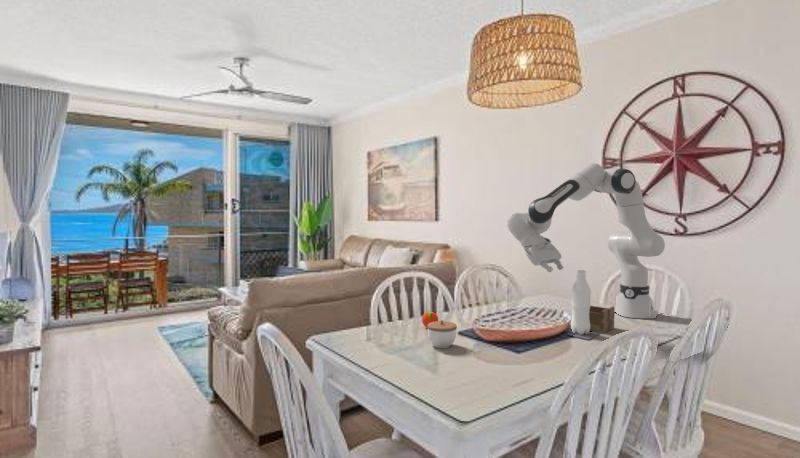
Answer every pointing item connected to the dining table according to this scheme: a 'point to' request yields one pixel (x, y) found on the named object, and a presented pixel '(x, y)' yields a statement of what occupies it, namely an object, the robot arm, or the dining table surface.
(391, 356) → the dining table surface
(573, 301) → the water bottle
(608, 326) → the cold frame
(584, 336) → the mat
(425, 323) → the tomato
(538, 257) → the robot arm
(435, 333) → the lidded jar
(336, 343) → the dining table surface
